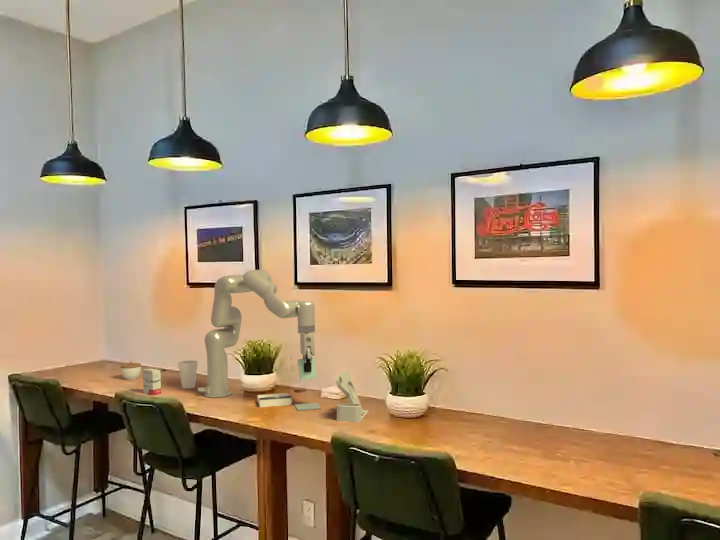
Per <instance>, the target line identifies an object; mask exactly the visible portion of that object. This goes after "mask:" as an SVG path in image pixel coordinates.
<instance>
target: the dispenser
mask: <svg viewBox="0 0 720 540" xmlns="http://www.w3.org/2000/svg"><path fill="white" fill-rule="evenodd" d="M257 404H258V406H259V408H266V407H267V408H268V407H278V406H279V407H281V406H283V407H284V406H292V395H290V394H289V393H288V392H285V393H284V392H282V393H281V392H280V393H269V394H267V393H266V394H257Z"/></svg>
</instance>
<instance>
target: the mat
mask: <svg viewBox="0 0 720 540" xmlns="http://www.w3.org/2000/svg"><path fill="white" fill-rule="evenodd" d="M293 406H294V408H295V409H296V410H297V412H302V410H303V411H312V410H311V409H316V410H322V408H321V407H320V405H319V404H318V403H317V402H308V403H307V402H306V403H295V404H293Z"/></svg>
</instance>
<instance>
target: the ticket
mask: <svg viewBox="0 0 720 540" xmlns="http://www.w3.org/2000/svg"><path fill="white" fill-rule="evenodd" d="M304 363H305V359H303V358H299V359H297V366H298V370H299V371H298V372H299V373H298V374H299V379H300V381H301V382H302V381H308V380H314V379H317V378H318V376H317V374H318V373H317V369H316V361H315V357H314V356H311V370H312V371H311V372H304Z"/></svg>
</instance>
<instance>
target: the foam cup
mask: <svg viewBox="0 0 720 540" xmlns="http://www.w3.org/2000/svg"><path fill="white" fill-rule="evenodd" d="M198 363H199V362H198V360H193V359H192V360H191V359H190V360H182V361H178V371H179V375H180V376H179V377H180V383H181V388H182V389H193V388H195V387H196V379H197V372H198V371H197V370H198V366H199V365H198Z"/></svg>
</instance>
